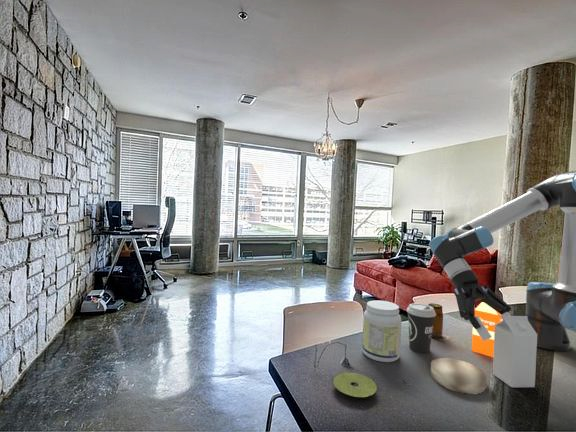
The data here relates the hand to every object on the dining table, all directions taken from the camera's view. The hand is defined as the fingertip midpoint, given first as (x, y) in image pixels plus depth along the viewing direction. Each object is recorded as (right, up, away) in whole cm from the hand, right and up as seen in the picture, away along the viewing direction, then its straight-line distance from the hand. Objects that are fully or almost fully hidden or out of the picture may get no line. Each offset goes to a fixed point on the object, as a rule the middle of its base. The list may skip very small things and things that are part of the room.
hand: (503, 336), depth 91 cm
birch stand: (-15, -12, -2) cm, 19 cm away
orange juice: (+7, -12, +18) cm, 23 cm away
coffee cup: (-18, -11, +17) cm, 27 cm away
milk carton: (+1, -12, -2) cm, 13 cm away
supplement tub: (-33, -11, +12) cm, 37 cm away
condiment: (-6, -12, +30) cm, 32 cm away
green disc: (-46, -11, -10) cm, 49 cm away
